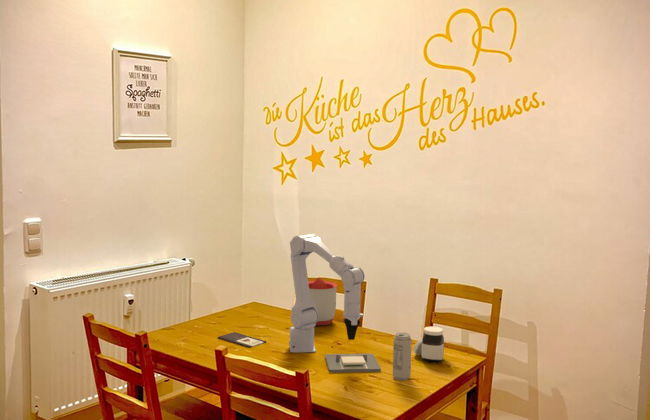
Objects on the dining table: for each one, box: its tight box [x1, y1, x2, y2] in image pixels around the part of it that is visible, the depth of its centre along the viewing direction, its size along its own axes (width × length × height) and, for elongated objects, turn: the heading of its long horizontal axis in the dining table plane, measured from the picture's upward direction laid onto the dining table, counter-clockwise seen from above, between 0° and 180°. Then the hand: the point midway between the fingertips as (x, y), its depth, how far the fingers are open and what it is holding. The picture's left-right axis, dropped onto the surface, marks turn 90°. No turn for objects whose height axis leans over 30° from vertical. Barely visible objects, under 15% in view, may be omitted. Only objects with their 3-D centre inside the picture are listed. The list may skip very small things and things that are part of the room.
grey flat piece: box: [324, 353, 382, 374], centre depth 236 cm, size 18×16×3 cm
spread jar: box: [413, 326, 445, 364], centre depth 243 cm, size 12×11×12 cm
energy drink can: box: [392, 332, 413, 382], centre depth 222 cm, size 6×6×15 cm
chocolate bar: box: [217, 331, 267, 349], centre depth 261 cm, size 9×1×18 cm
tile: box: [341, 356, 366, 365], centre depth 233 cm, size 8×7×1 cm
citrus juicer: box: [303, 277, 338, 326], centre depth 286 cm, size 16×17×20 cm
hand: (351, 339), depth 234 cm, fingers closed
